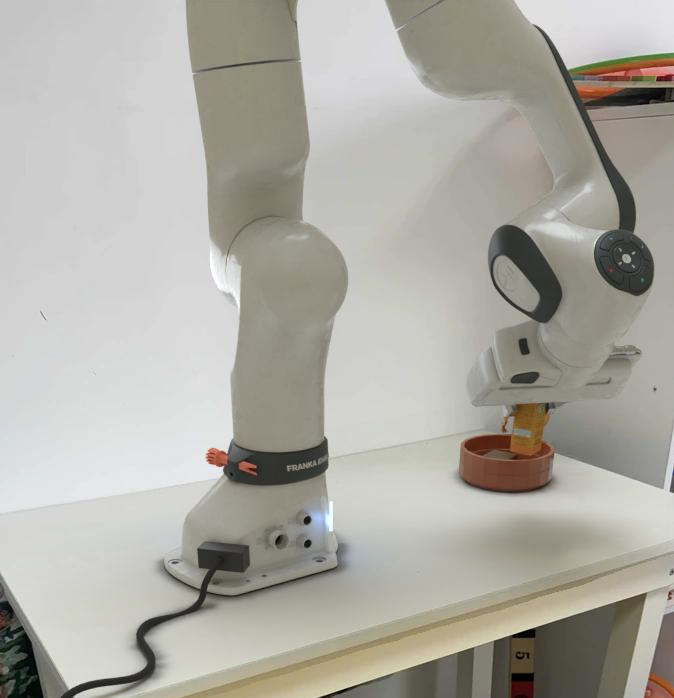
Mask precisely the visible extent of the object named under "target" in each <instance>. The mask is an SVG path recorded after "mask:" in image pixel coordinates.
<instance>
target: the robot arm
mask: <svg viewBox="0 0 674 698" xmlns="http://www.w3.org/2000/svg"><path fill="white" fill-rule="evenodd" d="M298 1H299V0H185V17H186V18H185V19H186V31H187V32H186V33H187V45H188V54H189V61H190V67H191V73H192V80H193V86H194V87H193V88H194V93H195V100H196V106H197V113H198V118H199V119H198V120H199V124H200V126H199V127H200V131H201V137H202V145H203V151H204V158H205V169H206V189H207V192H206V194H207V195H206V196H207V219H208V233H209V245H210V246H209V247H210V254H209V264H210V265H209V267H210V270H211V274H212V278H213V280H214V283H215V285H216V287H217V288H218V290H219V292H220V293H221V295H222V296H223V298H225V300H226V301H227V302H229V303H230V304H231V305H232V306H234V307H235V308H237V311H238V312H237V313H238V328H237V329H238V330H237V339H236V347H235V356H234V362H233V366H232V368H231V371H230V374H229V375H230V376H229V381H230V400H231V417H232V436H233V437H232V439H231V440H230V443H229V445H228V449H227V452H226V451H224V450H220V449H218V448H217V447H210V448H209V449H207V452H206V453H205V459H206V460H205V461H206V462H207V463H208V464H209V465H211V466H215V467H217V468H222V475H221V476H220V477H219V478H218V480H217V481H216V482H215V483H214V484H213V485H212V486H211V487H210V489H209V490H208V491H207V492H206V493H205V494H204V495H203V496H202V497H201V498H200V499H199V501H198V502H197V503H196V504H195V505H194V506H193V507H192V508H191V509H190V510H189V511H188V512H187V514H186V515H185V517H184V519H183V523H182V532H181V546H180V547H178V548H176V549H174V550H172V551H170V552H168V553H165V555H164V560H163V565H164V568H165V570H167V572H168V573H169V574H170V575H171V576H173V577H174V578H176V579H177V580H179V581H180V582H183V583H185V584H187V585H188V586H191V587H193V588H196V589H199V595H198V598H197V600H196V601H195V602H193V604H192V605H190V606H189V607H188V608H186V609H184V610H181V611H178V612H175V613H169V614H165V615H159V616H153V617H151V618H148V619H146V620H144V621H143V622H142V623H141V624H140V625H139V627H138V628H137V630H136V633H135V636H136V637H135V638H136V641H137V643H138V646H139V647H140V648H141V650H142V651H143V652H144V654H145V656H146V658H147V664H146V665H145V667H144V668H143V669H141V670H140V671H138V672H136V673H133V674H129V675H124V676H117V677H107V678H99V679H95V680H89V681H86V682H82V683H79V684H77V685H75V686H73V687H71V688H69V689H68V690H67V691H65V692H64V693H63V694H62V695H61V696H60V697H59V698H74V697H75V696H76V695H79V694H81V693H83V692H85V691H89V690H92V689H97V688H104V687H111V686H120V685H127V684H131V683H135V682H138V681H141V680H143V679H145V678H146V677H147V676H149V675H150V674H151V673H152V671H153V670H154V668H155V665H156V655H155V652H154V651H153V650H152V648H151V647H150V645H149V644H148V642H147V641H146V639H145V637H144V633H145V632H146V630H147V629H148V628H150V627H152V626H154V625H157V624H161V623H165V622H168V621H171V620H174V619H177V618H180V617H183V616H186V615H189V614H192V613H195V612H196V611H198V609H200V608H201V607H202V606H203V604H204V603H205V601H206V597H207V592H208V593H211V594H216V595H224V596H237V595H241V594H244V593H249V592H252V591H257V590H260V589H263V588H267V587H271V586H275V585H277V584H281V583H285V582H289V581H292V580H295V579H296V580H297V579H300V578H302V577H306V576H310V575H313V574H314V575H315V574H318V573H320V572H324V571H327V570H332V569H334V568H336V567H337V566H338V565H339V564H338V563H339V562H338V557H337V551H338V550H339V542H338V540H337V536H336V533H335V529H334V525H333V501H329V493H328V486H327V485H328V484H327V474H326V473H327V470H328V469H329V458H330V452H329V440H328V438H327V436H325V382H326V381H325V379H326V369H327V362H328V357H329V350H330V346H331V345H330V344H331V341H332V335H333V330H334V325H335V320H336V316H337V313H339V310H340V309H341V307H342V306H343V304H344V301H345V299H346V296H347V294H348V289H349V288H348V287H349V271H348V265H347V263H346V259H345V257H344V255H343V254H342V252H341V250H340V248H339V247H338V246H337V245H336V244H335V243H334V241H333V240H332V239H331V238H330V237H329V236H328V235H327V234H326V233H325V232H324V231H322V230H321V229H320V228H318V227H317V226H315V225H313V224H311V223H309V222H307V221H304V218H303V217H304V216H303V203H304V185H305V173H306V167H307V162H308V159H309V156H310V149H311V142H310V131H309V123H308V122H309V121H308V112H307V102H306V94H305V93H306V92H305V85H304V77H303V67H302V66H303V65H302V61H301V60H302V57H301V48H300V40H299V31H298ZM384 2H385V5H386V7H387V10H388V13H389V16H390V19H391V21H392V24H393V27H394V29H395V31H396V34H397V37H398V40H399V43H400V45H401V48H402V50H403V52H404V55H405V58H406V60H407V62H408V64H409V66H410V69H412V72H413V73H414V75H415V76H416V78H417V79H418V80H419V82H420V83H421V84H422V86H424V87H425V88H426V89H428V90H429V91H431V92H432V93H434V94H436V95H438V96H440V97H442V98H446V99H450V100H453V101H462V102H471V101H496V102H497V101H498V102H502V103H505V104H508V105H510V106H512V107H513V108H514V109H516V110H517V111H518V112H519V113H520V114H521V115H522V117H523V119H524V120H525V121H526V123H527V125H528V127H529V129H530V131H531V133H532V135H533V137H534V140H535V142H536V143H537V145H538V147H539V149H540V151H541V153H542V156H543V158H544V159H545V161H546V163H547V165H548V167H549V170H550V172H551V174H552V176H553V187H552V190H551V191H550V192H548V193H547V194H546V195H544V196H543V197H542V198H540V199H538V200H537V201H535V202H534V203H532V204H531V205H529V206H527V207H526V208H524V209H523V210H521V211H520V212H518V213H517V214H516V215H514V216H512V217H511V218H510V219H508V220H507V221H505V223H503V224H502V225H501V226H499V227H497V228H496V229H495V231H494V232H493V233H492V235H491V237H490V240H489V243H488V248H487V249H488V250H487V266H488V267H487V268H488V272H489V276H490V279H491V282H492V285H493V286H494V288H495V290H496V291H497V293H498V294H499V295H500V296H501V297H502V298H503V300H504V301H506V302H507V303H508V304H509V305H510V306H511V307H513V308H514V309H516V310H517V311H519V312H520V313H522V314H523V315H525V316H527V317H528V318H530V319H529V320H528V321H525V322H521V323H517V324H514V325H509V326H506V327H501V328H498V329H497V330H495V331H494V332H493V333H492V334H491V338H490V340H491V341H490V343H491V346H489V347H486V348H485V349H484V350H483V351H482V352H481V353H480V354H479V355H478V357H477V358H476V360H475V361H474V363H473V364H472V366H471V368H470V370H469V371H468V373H467V376H466V379H465V390H466V394H467V399H468V402H469V403H470V404H471V405H472V407H475V408H478V407H479V408H480V407H493V406H494V407H495V406H496V407H497V406H501V410H502V415H503V418H504V417H509V418H511V417H514V416H516V414H517V413H518V411H519V410H518V406H517V405H516V404H531V403H547V407H546V414H550V415H557V413H558V412H559V410H560V409H563V408H564V407H567V406H568V405H570V404H572V403H574V402H582V401H584V402H585V401H599V400H602V401H603V400H610V399H613V398H615V397H617V396H619V395H620V394H621V392H622V391H623V389H624V388H625V387H626V385H627V383H628V381H629V379H630V377H631V375H632V369H633V367H635V366H636V365H637V364H638V363H639V361H640V360H641V359H642V357H643V352H642V350H641V349H640V348H637V347H636V345H633V344H626V345H620V344H619V345H618V344H616V343H617V342H619V341H620V340H621V339H622V338H623V337H624V336H625V335H626V334H627V332H628V331H629V329H630V328H631V327H632V325H633V324H634V322H635V321H636V319H637V318H638V316H639V315H640V313H641V311H642V310H643V307H644V306H645V304H646V302H647V300H648V298H649V296H650V294H651V291H652V288H653V286H654V281H655V271H656V269H655V261H654V257H653V254H652V252H651V250H650V248H649V246H648V245H647V244H646V243H645V241H644V240H643V239H641V237H639V236H638V235H637V234H635V229H636V222H637V207H636V201H635V197H634V194H633V192H632V190H631V187H630V186H629V184H628V183H627V181H626V180H625V178H624V177H623V175H622V173H620V172H619V170H618V168H617V167H616V166H615V164H614V163H613V162H612V160H611V157H610V156H609V154H608V153H607V151H606V149H605V146H604V145H603V143H602V141H601V138H600V137H599V134H598V132H597V130H596V128H595V125H594V124H593V121H592V119H591V117H590V115H589V112H588V110H587V109H586V106H585V104H584V102H583V100H582V98H581V95H580V94H579V91H578V89H577V87H576V84H575V83H574V80H573V78H572V77H571V74H570V71H568V68H567V65H566V64H565V62H564V60H563V58H562V56H561V53H560V52H559V51H558V49H557V47H556V45H555V43H554V42H553V40H552V39H551V37H549V35H548V34H547V32H546V31H545V30H544V29H542V27H540V26H539V25H536V24H534V23H532V22H531V21H530V20H529V19H528V18H527V17H526V16H525V15H524V13H523V12H522V10H521V9H520V7H519V5H518V4H517V2H516V1H515V0H384Z"/></svg>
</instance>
